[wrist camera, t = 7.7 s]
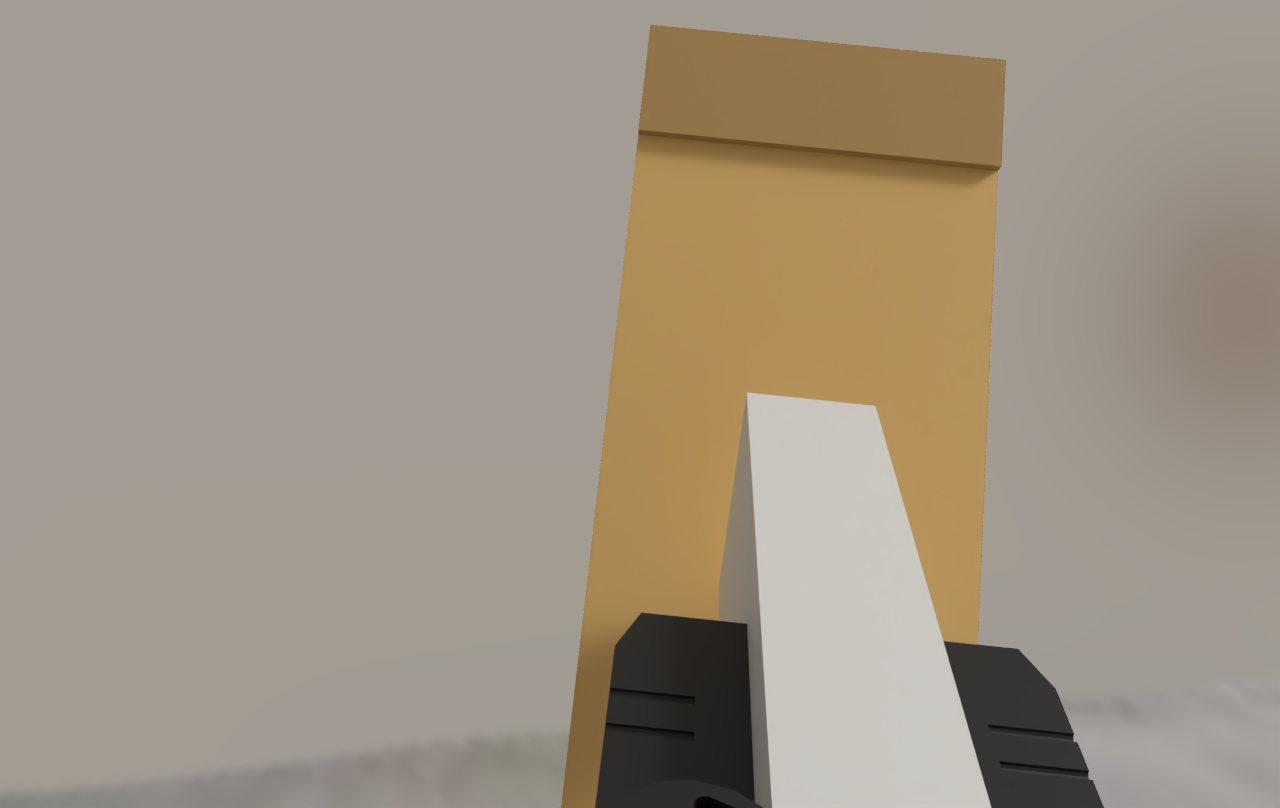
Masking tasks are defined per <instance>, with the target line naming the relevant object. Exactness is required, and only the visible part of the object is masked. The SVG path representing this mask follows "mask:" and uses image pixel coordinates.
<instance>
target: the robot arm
mask: <svg viewBox="0 0 1280 808" xmlns="http://www.w3.org/2000/svg"><path fill="white" fill-rule="evenodd" d="M1073 735H1074V733H1073V730H1072V728H1071V726H1070V723H1069V721H1068V718H1067V716H1066V713H1065V711H1064V708H1063V706H1062V703H1061V701H1060V698H1059V696H1058V693H1057V691H1056V689H1055V688H1054V687H1053V686H1052V685H1051V684H1050V683H1049V682H1048V680H1047V679H1046V678H1045V677H1044V676H1043V675H1042V674H1041V673H1040V672H1039V671H1038V670H1037V669H1036V668H1035V666H1033V664H1032V663H1031V662H1030V661H1029V660H1028V659H1027V658H1026V657H1025V656H1024V655H1023V654H1022V653H1021V652H1020V651H1019V649H1013V648H1003V647H994V646H984V645H975V644H966V643H957V642H947V641H943V638H942V635H941V632H940V628H939V625H938V621H937V618H936V614H935V611H934V607H933V604H932V600H931V597H930V593H929V590H928V586H927V583H926V580H925V576H924V573H923V569H922V566H921V562H920V559H919V555H918V552H917V548H916V545H915V541H914V538H913V534H912V531H911V528H910V524H909V521H908V517H907V514H906V510H905V507H904V503H903V500H902V496H901V493H900V489H899V486H898V482H897V479H896V476H895V472H894V469H893V465H892V462H891V458H890V455H889V451H888V448H887V444H886V441H885V437H884V434H883V431H882V427H881V424H880V420H879V417H878V413H877V410H876V406H872V405H862V404H852V403H843V402H833V401H824V400H814V399H805V398H795V397H785V396H776V395H766V394H756V393H747V394H746V401H745V408H744V415H743V422H742V429H741V436H740V442H739V449H738V456H737V463H736V470H735V477H734V484H733V491H732V497H731V504H730V511H729V518H728V525H727V532H726V539H725V546H724V552H723V559H722V566H721V573H720V580H719V621H717V620H707V619H698V618H689V617H679V616H670V615H660V614H651V613H642V612H641V614H640V615H639V616H638V617H637V619H636V620H635V621H634V622H633V624H632V625H631V626H630V627H629V629H628V630H627V631H626V632H625V634H624V635H623V636H622V637H621V639H620V640H619V641H618V642H617V644H616V645H615V649H614V657H613V665H612V674H611V682H610V690H609V698H608V706H607V714H606V723H605V731H604V739H603V747H602V755H601V763H600V772H599V780H598V788H597V796H596V804H595V808H1104V807H1103V804H1102V802H1101V800H1100V797H1099V795H1098V792H1097V790H1096V787H1095V785H1094V782H1093V780H1089V778H1088V772H1089V770H1088V767H1087V765H1086V763H1085V760H1084V758H1083V755H1082V753H1081V750H1080V748H1079V745H1078V743H1077V742H1074V741H1073Z"/></svg>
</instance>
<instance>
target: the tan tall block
mask: <svg viewBox="0 0 1280 808" xmlns="http://www.w3.org/2000/svg"><path fill="white" fill-rule="evenodd" d="M1005 65H1006V60H1000V59H989V58H980V57H969V56H959V55H949V54H939V53H928V52H919V51H909V50H899V49H888V48H879V47H868V46H858V45H848V44H838V43H828V42H818V41H808V40H797V39H788V38H777V37H767V36H758V35H747V34H737V33H726V32H717V31H706V30H697V29H687V28H676V27H666V26H657V25H651V26H650V35H649V43H648V52H647V61H646V69H645V79H644V87H643V96H642V104H641V113H640V122H639V135H638V143H637V153H636V161H635V170H634V178H633V187H632V196H631V205H630V213H629V222H628V230H627V239H626V248H625V257H624V266H623V274H622V283H621V291H620V300H619V309H618V318H617V326H616V335H615V344H614V353H613V362H612V370H611V378H610V387H609V396H608V405H607V414H606V422H605V431H604V439H603V448H602V457H601V465H600V474H599V483H598V492H597V500H596V510H595V518H594V527H593V535H592V544H591V553H590V561H589V570H588V579H587V589H586V596H585V605H584V613H583V622H582V631H581V640H580V648H579V657H578V667H577V674H576V684H575V692H574V701H573V709H572V719H571V727H570V735H569V744H568V753H567V761H566V770H565V779H564V788H563V796H562V805H561V808H595V804H596V796H597V788H598V780H599V772H600V763H601V755H602V747H603V739H604V731H605V723H606V714H607V706H608V698H609V690H610V682H611V674H612V665H613V657H614V649H615V645H616V644H617V642H618V641H619V640H620V639H621V637H622V636H623V635H624V634H625V632H626V631H627V630H628V629H629V627H630V626H631V625H632V624H633V622H634V621H635V620H636V619H637V617H638V616H639V615H640V614H641V612H642V613H651V614H660V615H670V616H679V617H689V618H698V619H707V620H717V621H719V580H720V573H721V566H722V559H723V552H724V546H725V539H726V532H727V525H728V518H729V511H730V504H731V497H732V491H733V484H734V477H735V470H736V463H737V456H738V449H739V442H740V436H741V429H742V422H743V415H744V408H745V401H746V394H747V393H756V394H766V395H776V396H785V397H795V398H805V399H814V400H824V401H833V402H843V403H852V404H862V405H872V406H876V410H877V413H878V417H879V420H880V424H881V427H882V431H883V434H884V437H885V441H886V444H887V448H888V451H889V455H890V458H891V462H892V465H893V469H894V472H895V476H896V479H897V482H898V486H899V489H900V493H901V496H902V500H903V503H904V507H905V510H906V514H907V517H908V521H909V524H910V528H911V531H912V534H913V538H914V541H915V545H916V548H917V552H918V555H919V559H920V562H921V566H922V569H923V573H924V576H925V580H926V583H927V586H928V590H929V593H930V597H931V600H932V604H933V607H934V611H935V614H936V618H937V621H938V625H939V628H940V632H941V635H942V638H943V641H947V642H957V643H966V644H975V645H978V633H979V608H980V584H981V583H980V582H981V560H982V559H981V558H982V537H983V536H982V535H983V513H984V490H985V489H984V488H985V466H986V442H987V418H988V393H989V370H990V347H991V323H992V322H991V321H992V299H993V275H994V251H995V228H996V203H997V180H998V170H999V169H1000V167H1001V162H1002V138H1003V115H1004V114H1003V112H1004V91H1005Z"/></svg>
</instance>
